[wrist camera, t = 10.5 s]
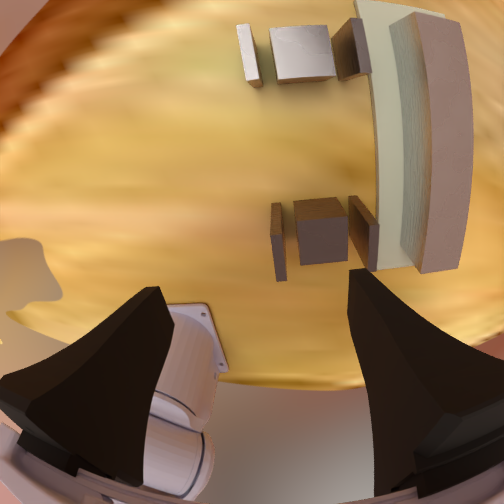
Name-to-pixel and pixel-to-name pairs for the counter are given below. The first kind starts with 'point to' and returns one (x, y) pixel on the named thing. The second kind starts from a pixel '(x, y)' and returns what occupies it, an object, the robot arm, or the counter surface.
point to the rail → (434, 138)
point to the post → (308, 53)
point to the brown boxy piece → (326, 233)
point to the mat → (387, 125)
